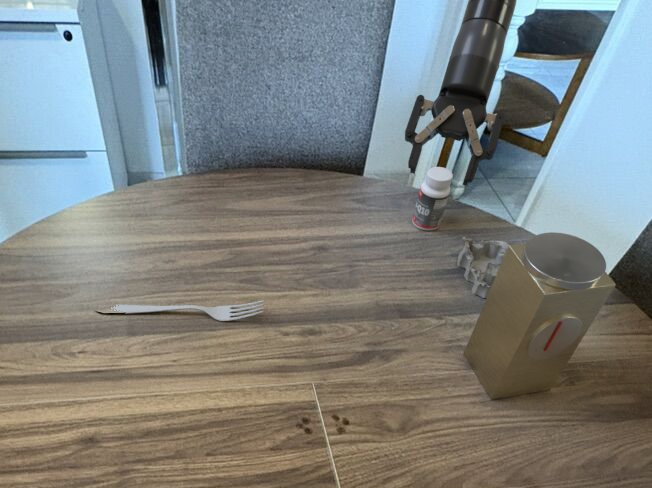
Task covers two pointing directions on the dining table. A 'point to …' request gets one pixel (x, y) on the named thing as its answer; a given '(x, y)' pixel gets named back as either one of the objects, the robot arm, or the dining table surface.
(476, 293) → the egg carton
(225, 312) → the fork
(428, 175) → the pill bottle
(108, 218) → the dining table surface
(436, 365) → the dining table surface
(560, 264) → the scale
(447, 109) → the robot arm
